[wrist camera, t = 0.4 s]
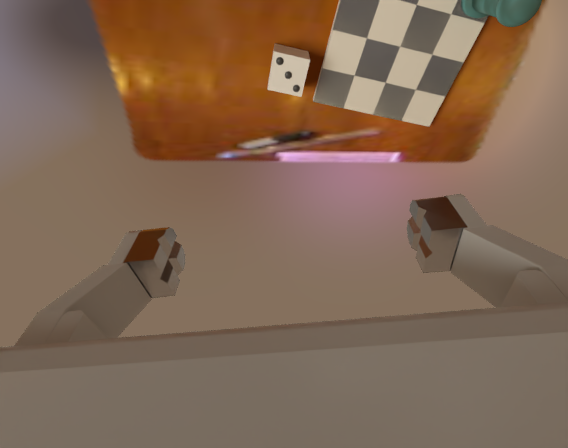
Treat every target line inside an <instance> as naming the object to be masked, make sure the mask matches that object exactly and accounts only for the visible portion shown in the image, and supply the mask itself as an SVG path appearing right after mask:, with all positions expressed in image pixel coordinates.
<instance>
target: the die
mask: <svg viewBox="0 0 568 448" xmlns="http://www.w3.org/2000/svg"><path fill="white" fill-rule="evenodd" d="M309 63H310V57H309V52H308V51H305V50H301V49H296V48H292V47H288V46H284V45H280V44H275V45H274V51H273V57H272V63H271V69H270V75H269V81H268V89H267V90H272V91H277V92H281V93H286V94H291V95H295V96H300V97H301V96H302V92H303V88H304V84H305V80H306V76H307V71H308V67H309Z"/></svg>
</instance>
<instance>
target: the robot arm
mask: <svg viewBox="0 0 568 448" xmlns="http://www.w3.org/2000/svg"><path fill="white" fill-rule="evenodd" d="M410 212H411V215H412V217H411V218H410V219H409V220H408V225H407V234H408V239H409V243H410V245H411V247H412V248H413V249H414V250H416V251H417V255H416V259H417V261H418V263H419V265H420V268H421V270H422V272H423V273H429V272H443V271H451V273H452V274H453V275H455V276H456V277H457V278H458V279H460V280H461V281H462V282H464V283H465V284H466V285H467V286H469V287H470V288H471V289H473V290H474V291H475V292H477V293H478V294H479V295H480V296H482V297H483V298H484V299H486V300H487V301H488V302H489V303H491V304H492V305H493V306H495V307H496V308H485V309H474V310H461V311H448V312H436V313H424V314H410V315H398V316H385V317H372V318H360V319H347V320H335V321H322V322H311V323H297V324H284V325H272V326H259V327H247V328H234V329H222V330H211V331H210V330H209V331H197V332H185V333H172V334H160V335H147V336H135V337H122V338H117V337H118V336H119V335H120V334H121V333H122V332H123V330H124V329H125V328H126V327H127V326H128V325H129V324H130V323H131V322H132V321H133V320H134V318H135V317H136V316H137V315H138V314H139V313H140V312H141V311H142V310H143V309H144V307H145V306H146V305H147V304H148V303H149V302H150V301H151V298H158V297H167V296H175V294H176V290H177V288H178V285H179V281H180V280H179V278H178V275H179V274H180V273H181V272H182V271H183V269H184V265H185V254H184V250H183V248H182V245H181V244H179V243H177V242H176V241H175V239H176V236H177V235H176V234H175V232H174V230H173V229H172V228H170V227H168V228H157V229H146V230H138V231H129V232H128V233H126V234H125V236H124V237H123V239H122V241H121V243H120V244H119V246H118V248H117V250H116V251H115V253H114V255H113V256H112V258H111V260H110V261H109V263H108V265H103V266H102V267H100V268H99V269H97V270H96V271H95V272H93V273H92V274H90V275H89V276H88V277H86V278H85V279H83V280H82V281H81V282H79V283H78V284H77V285H75V286H74V287H72V288H71V289H70V290H68V291H67V292H66V293H64V294H63V295H61V296H60V297H59V298H57V299H56V300H54V301H53V302H52V303H50V304H49V305H48V306H46V307H45V308H43V309H42V310H41V311H39V312H38V313H37V314H36V316H35V317H34V318H33V320H32V321H31V323H30V324H29V326H28V327H27V328H26V330H25V332H24V333H23V334H22V335H21V337H20V338H19V340H18V341H17V343H16V344H15V345H14V346H9V347H0V448H568V259H565V258H563V257H561V256H559V255H556V254H554V253H552V252H550V251H548V250H546V249H544V248H541V247H539V246H537V245H534V244H533V243H530V242H528V241H526V240H524V239H522V238H519V237H517V236H515V235H513V234H511V233H508V232H506V231H504V230H502V229H500V228H498V227H495V226H493V225H490V226H487V224H486V223H485V222H484V221H483V219H482V218H481V217H480V216H479V214H478V213H477V212H476V211H475V209H474V208H473V207H472V205H471V204H470V203H469V201H468V200H467V199H466V198H465V196H464V195H462V194H456V195H449V196H444V197H438V198H429V199H420V200H412V202H411V204H410Z"/></svg>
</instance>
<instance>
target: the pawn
mask: <svg viewBox="0 0 568 448" xmlns="http://www.w3.org/2000/svg"><path fill="white" fill-rule="evenodd" d="M541 1H542V0H461V7H462V10H463V12H464V13H465V14H466V15H467V16H470V17H473V18H483V17H485V16H487V15H490V16H494V17H497V19H498V21H499V22H500V23H501V24H502V25H504V26H508V27H515V26H519V25H522V24H524V23H525V22H527V21H528V20H530V19H531V18H532V17H533V16H534V15H535V14H536V12H537V11H538V9H539V7H540V5H541Z"/></svg>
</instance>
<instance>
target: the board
mask: <svg viewBox="0 0 568 448" xmlns="http://www.w3.org/2000/svg"><path fill="white" fill-rule="evenodd" d="M488 16H489V15H487V16H485V17H483V18H473V17H470V16H467V15H466V14H465V13H464V12H463V10H462V7H461V0H339V3H338V7H337V11H336V14H335V18H334V22H333V26H332V29H331V33H330V37H329V41H328V44H327V48H326V52H325V56H324V59H323V63H322V67H321V71H320V74H319V78H318V82H317V86H316V89H315V93H314V97H313V102H317V103H322V104H327V105H331V106H336V107H340V108H345V109H350V110H354V111H359V112H364V113H368V114H373V115H377V116H382V117H387V118H391V119H396V120H401V121H405V122H410V123H415V124H419V125H424V126H428V127H429V126H430V124H431V123H432V121H433V119H434V117H435V115H436V113H437V111H438V109H439V108H440V106H441V104H442V102H443V100H444V98H445V96H446V94H447V93H448V91H449V89H450V87H451V85H452V83H453V81H454V80H455V78H456V76H457V74H458V72H459V70H460V68H461V66H462V65H463V63H464V61H465V59H466V57H467V55H468V53H469V51H470V50H471V48H472V46H473V44H474V42H475V40H476V38H477V36H478V35H479V33H480V31H481V29H482V27H483V25H484V23H485V21H486V20H487V18H488Z"/></svg>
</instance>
